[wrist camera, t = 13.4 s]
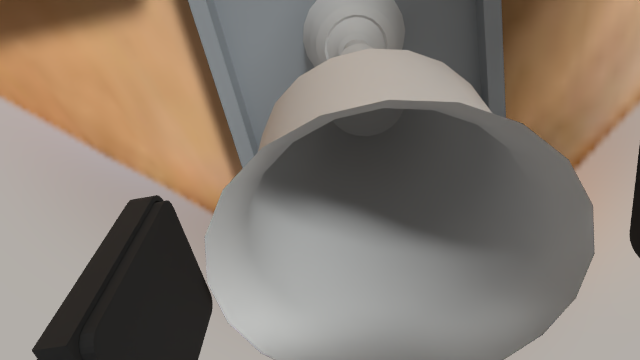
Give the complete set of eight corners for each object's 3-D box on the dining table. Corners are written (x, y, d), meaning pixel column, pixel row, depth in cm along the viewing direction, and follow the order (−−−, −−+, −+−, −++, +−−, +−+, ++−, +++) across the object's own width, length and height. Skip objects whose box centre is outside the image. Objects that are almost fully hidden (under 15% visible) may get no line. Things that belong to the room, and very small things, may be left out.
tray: (481, -134, 22) (496, -136, 20) (494, 115, 28) (506, 131, 26) (181, -61, 24) (169, -57, 22) (251, 160, 30) (245, 178, 28)
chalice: (427, -47, 23) (629, 76, 8) (428, 93, 27) (569, 377, 11) (270, -29, 24) (161, 121, 8) (290, 106, 27) (239, 397, 12)
